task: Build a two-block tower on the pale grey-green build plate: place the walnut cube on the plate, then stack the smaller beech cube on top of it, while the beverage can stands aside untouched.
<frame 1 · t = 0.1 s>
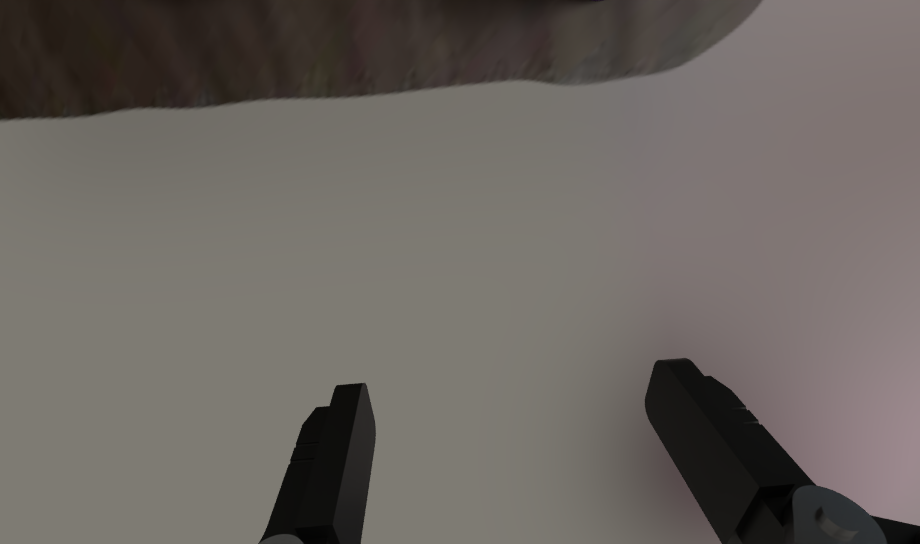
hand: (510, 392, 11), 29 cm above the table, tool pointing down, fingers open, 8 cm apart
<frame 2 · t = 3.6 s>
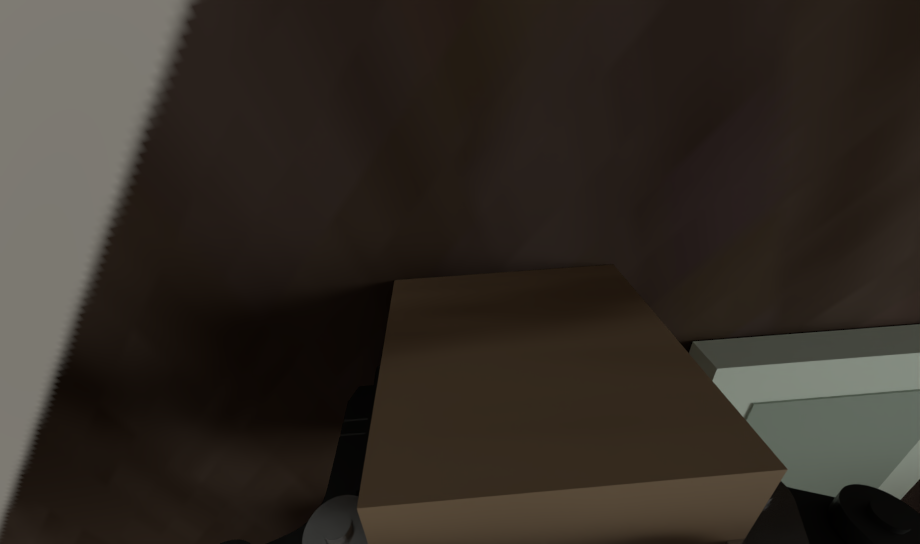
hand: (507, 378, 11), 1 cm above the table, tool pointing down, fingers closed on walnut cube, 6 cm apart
walnut cube: (503, 355, 12), on the table, touching gripper
build plate: (786, 432, 15), on the table
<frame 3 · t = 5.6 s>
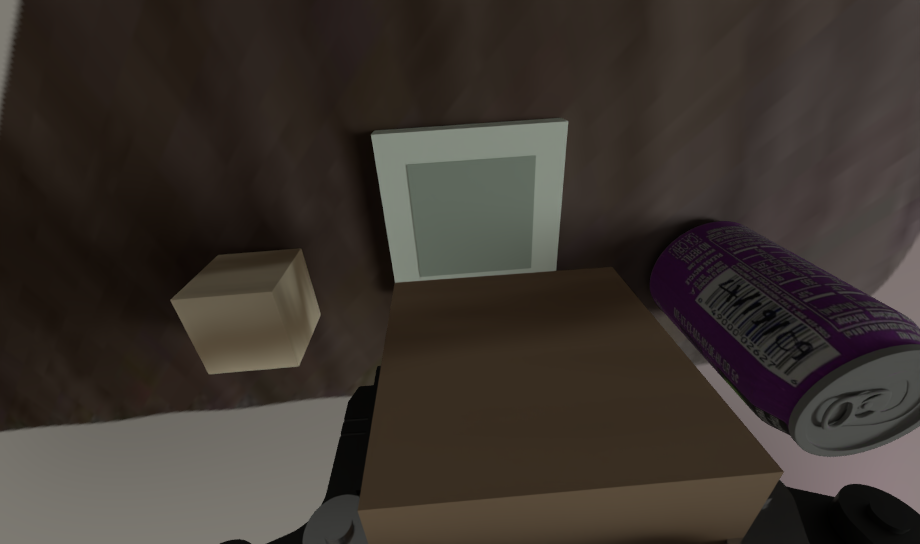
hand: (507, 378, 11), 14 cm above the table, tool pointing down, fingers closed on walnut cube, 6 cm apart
walnut cube: (503, 357, 12), point 13 cm above the table, touching gripper
build plate: (471, 212, 23), on the table
beverage can: (694, 264, 26), on the table
beech cube: (272, 285, 25), on the table
when the fingers open (3 cm above the table, at t = 8.1 s): walnut cube stays where it is, resting on build plate.
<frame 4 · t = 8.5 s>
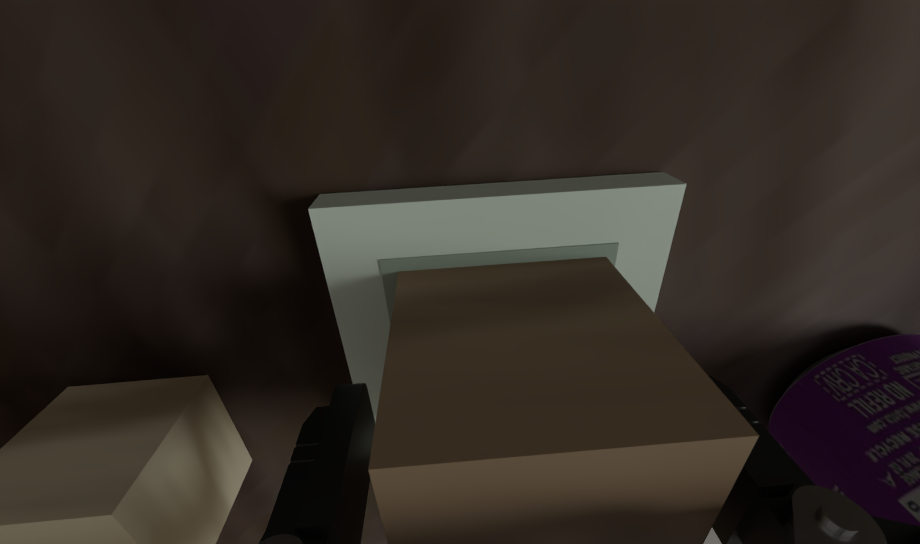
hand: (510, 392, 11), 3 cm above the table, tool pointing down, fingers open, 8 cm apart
walnut cube: (502, 344, 13), point 1 cm above the table, touching build plate
build plate: (494, 321, 14), on the table
beverage can: (835, 384, 17), on the table
beech cube: (169, 425, 15), on the table
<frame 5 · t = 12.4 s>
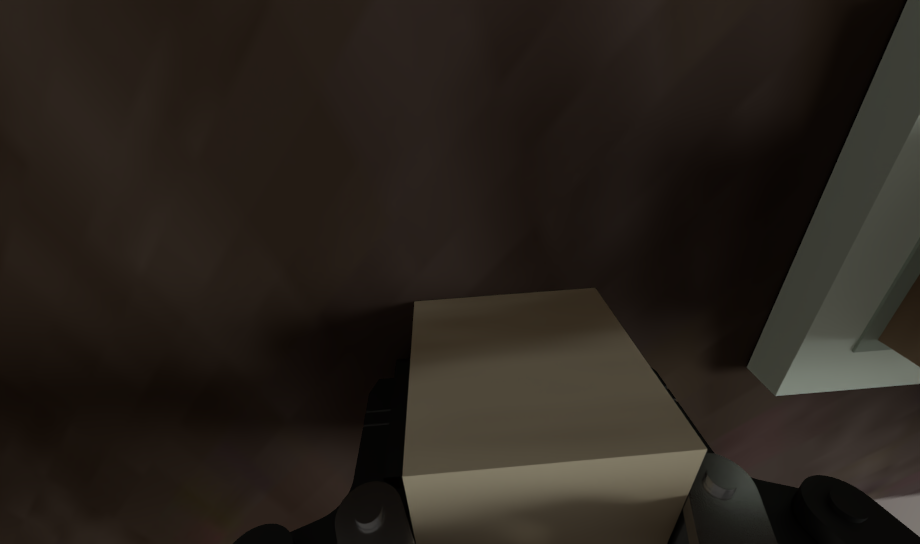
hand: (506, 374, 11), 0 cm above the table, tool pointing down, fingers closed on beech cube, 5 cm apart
beech cube: (504, 362, 12), on the table, touching gripper
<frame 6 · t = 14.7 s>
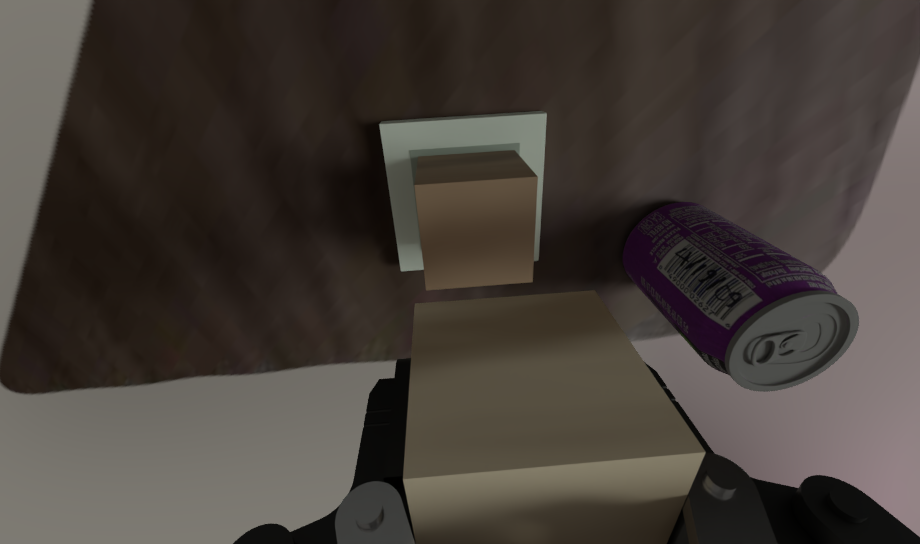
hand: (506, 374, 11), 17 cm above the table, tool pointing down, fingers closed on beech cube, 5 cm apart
walnut cube: (468, 199, 25), point 1 cm above the table, touching build plate
build plate: (465, 193, 26), on the table
beverage can: (663, 242, 30), on the table
beech cube: (504, 364, 12), point 17 cm above the table, touching gripper
when the fingers open (9 cm above the table, at t = 17.1 s): beech cube stays where it is, resting on walnut cube.
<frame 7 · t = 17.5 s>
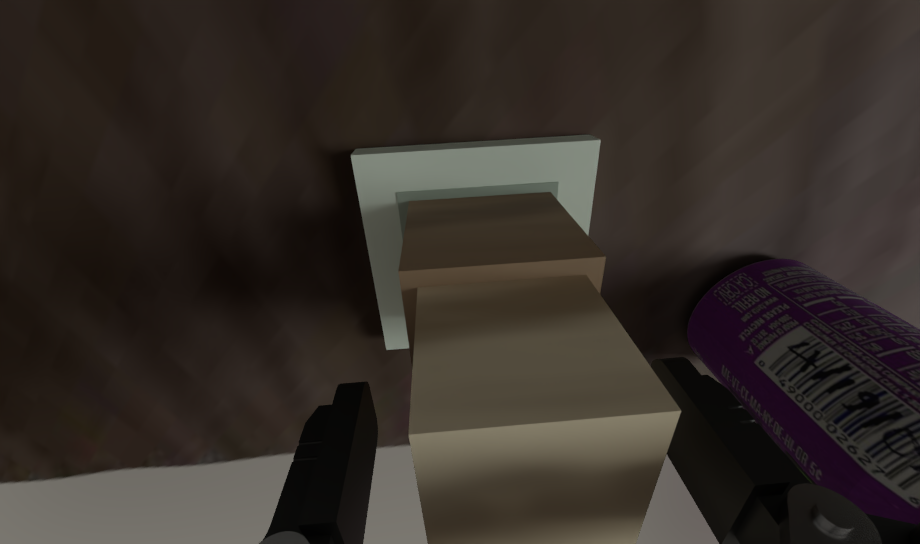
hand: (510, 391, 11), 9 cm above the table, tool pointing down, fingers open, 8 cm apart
walnut cube: (481, 259, 18), point 1 cm above the table, touching beech cube, build plate
build plate: (476, 247, 19), on the table
beverage can: (739, 305, 22), on the table
beech cube: (502, 346, 13), point 7 cm above the table, touching walnut cube
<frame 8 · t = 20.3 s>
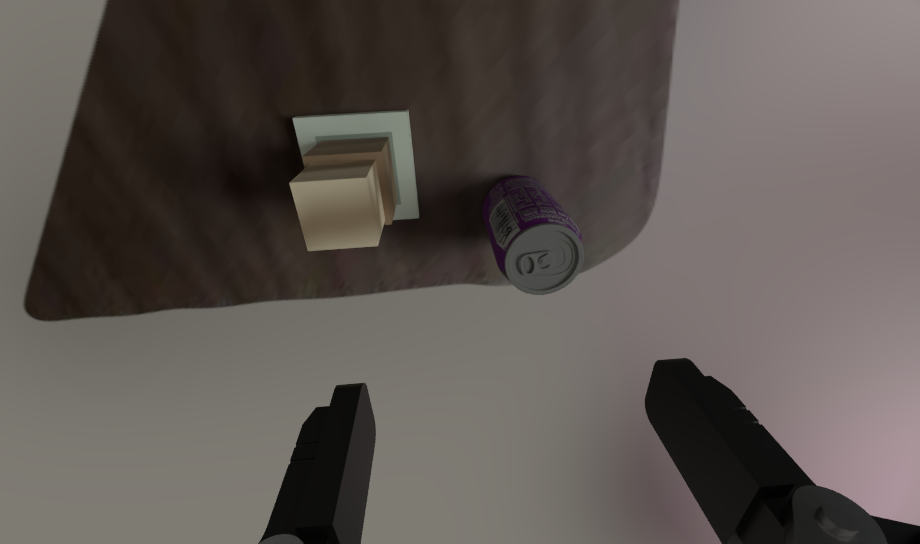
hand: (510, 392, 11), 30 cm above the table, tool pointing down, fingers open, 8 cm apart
walnut cube: (361, 172, 36), point 1 cm above the table, touching beech cube, build plate
build plate: (362, 168, 37), on the table
beverage can: (514, 206, 40), on the table
beech cube: (349, 193, 31), point 7 cm above the table, touching walnut cube
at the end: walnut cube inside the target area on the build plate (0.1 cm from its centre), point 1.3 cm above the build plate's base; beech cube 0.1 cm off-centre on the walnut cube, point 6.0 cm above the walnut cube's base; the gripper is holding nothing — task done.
